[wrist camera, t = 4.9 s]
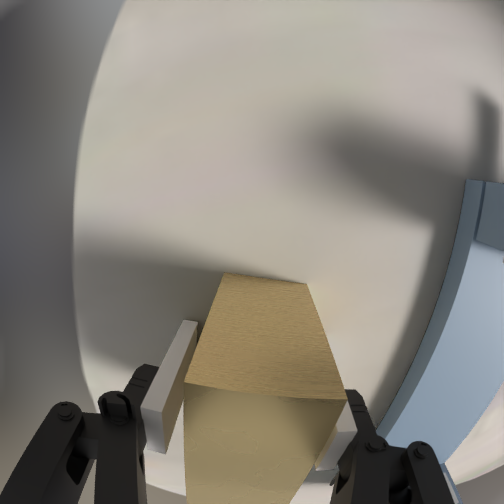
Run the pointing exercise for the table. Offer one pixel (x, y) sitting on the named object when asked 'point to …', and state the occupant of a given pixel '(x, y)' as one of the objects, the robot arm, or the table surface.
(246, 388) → the wooden block
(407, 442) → the vise
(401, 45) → the table surface
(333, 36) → the table surface
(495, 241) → the free jaw
